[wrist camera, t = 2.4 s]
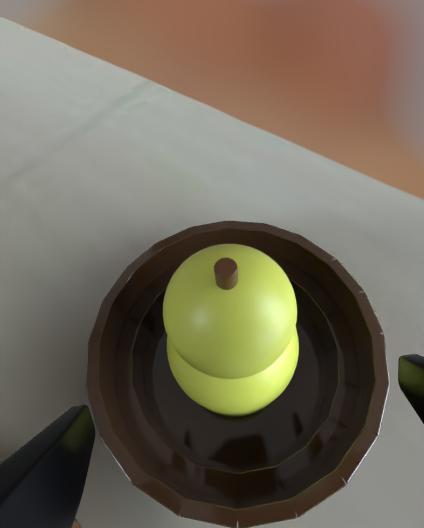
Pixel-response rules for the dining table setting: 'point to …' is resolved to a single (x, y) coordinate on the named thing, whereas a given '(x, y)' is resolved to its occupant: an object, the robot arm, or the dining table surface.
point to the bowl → (251, 426)
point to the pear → (231, 329)
